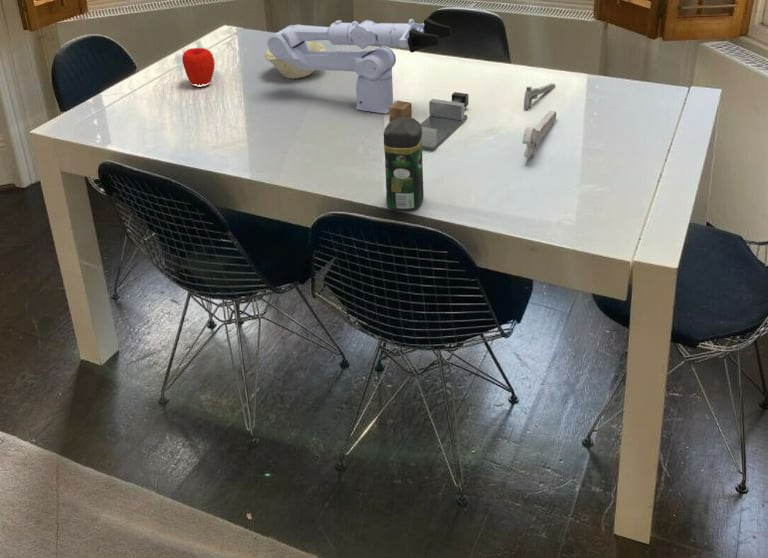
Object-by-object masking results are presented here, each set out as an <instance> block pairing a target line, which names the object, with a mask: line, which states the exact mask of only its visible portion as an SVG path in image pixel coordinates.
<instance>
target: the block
mask: <svg viewBox="0 0 768 558" xmlns="http://www.w3.org/2000/svg"><path fill="white" fill-rule="evenodd" d="M394 102H395V103H394V104H393V105H391V106H390V107H389V113H388V117H389V119H388V120H389V123H390V122H392V121H393V120H395V119H396V118H413V114H412V113H413V111H412V109H413V108H412V104H413V103H412V102H408V101H401V100H396V101H394ZM389 123H388V124H389Z"/></svg>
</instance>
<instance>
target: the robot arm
mask: <svg viewBox="0 0 768 558" xmlns="http://www.w3.org/2000/svg"><path fill="white" fill-rule="evenodd" d="M450 36H452V28H451V26H448V25H444V24H442V23H438V22H436V21H434V20H432V19H431V18H425V19H424V20H423V23H417V22H415V20H414V18H410V19H409V20H408V23H402V22H401V23H399V22H398V23H396V22H395V23H393V22H392V23H391V22H389V23H388V22H385V23H384V22H380V23H377V22H375V21H373V20H369V19H366V20H362V21H361V22H360V23H359V22H358V21H356V20H353V21H352V22H342V20H341V19H340V20H336V21H334V22H332V23H331V24H330V26H317V25H316V26H315V25H303V24H295V25H294V24H290V25H287V26H285V28H283V29H280V30H279V31H278V32H277V31H276V32H275V33H272V34H270V35H269V37H268V39H267V41H266V42H267V43H266V44H267V49H269V50H270V52H271V53H272V54H273V55H274V57H275V58H276V59H278V60H284V61H286V62H288V63H290V64H291V65H293V66H295V67H297V68H299V69H302V70H314V71H331V72H333V71H334V72H355V73H356V75H357V76H358V77H357V79H356V84H355V91H356V95H355V96H356V107H355V110H359V111H363V112H364V111H365V112H372V113H378V114H389V107H390V106H391V105H393V104H394V103H395V102H396V101H394V89H393V85H394V84H393V67H395V65H396V62H397V57H396V53H395V52H394V50H393V49H392V48H391V47H399V48H404V49H405V48H408V49H409V52H410V53H412V54H413V53H415V52H417V51H419V50H422V49H424V48H426V49H427V48H429V47H435V46H438V45H440V38H446V37H450ZM307 41H312V42H315V41H329V42H330V44H332V45H334V46H356V47H358V48H360V49H361V50H362V51H345V50H344V51H342V50H341V51H340V50H326V51H311V50H310V48H309V46H308V43H307ZM369 46H375V47H376V46H379V47H378V48H375V49H367V48H368V47H369ZM363 49H367V50H363Z"/></svg>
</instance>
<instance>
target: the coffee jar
mask: <svg viewBox="0 0 768 558" xmlns="http://www.w3.org/2000/svg"><path fill="white" fill-rule="evenodd" d="M383 150H384V152H383V153H384V169H385V191H386V192H385V193H386V197H385V199H386V205H387V206H388V208H390V209H392V210H393V209H394V210H396V211H402V212H403V211H409V210H410V211H411V210H417V208H419V207H420V205H422V202H423V199H424V194H425V193H424V174H423V173H424V171H423V167H424V166H423V149H422V127H421V123H420V122H419V121H418V120H417V119H415V118H413V117H412V118H396V119H395V120H393V121H392V122H390V123H388V124H387V125H386V127H385V129H384V131H383Z"/></svg>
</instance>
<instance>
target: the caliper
mask: <svg viewBox="0 0 768 558" xmlns="http://www.w3.org/2000/svg"><path fill="white" fill-rule="evenodd" d="M555 86H556V87H557V85H556V84H555V83H552V82H551V83H549V84H546V85H543V86H541V87H532V86H527V87H526V89H525V90H526V91H524V99H523V110H524V111H528V110H530V109H531V108H532V104H533V100H535V99H538V96H540V95H542V94H544V93H545V94H546V92H549V91H552V90H554V89H555V88H556V87H555Z"/></svg>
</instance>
